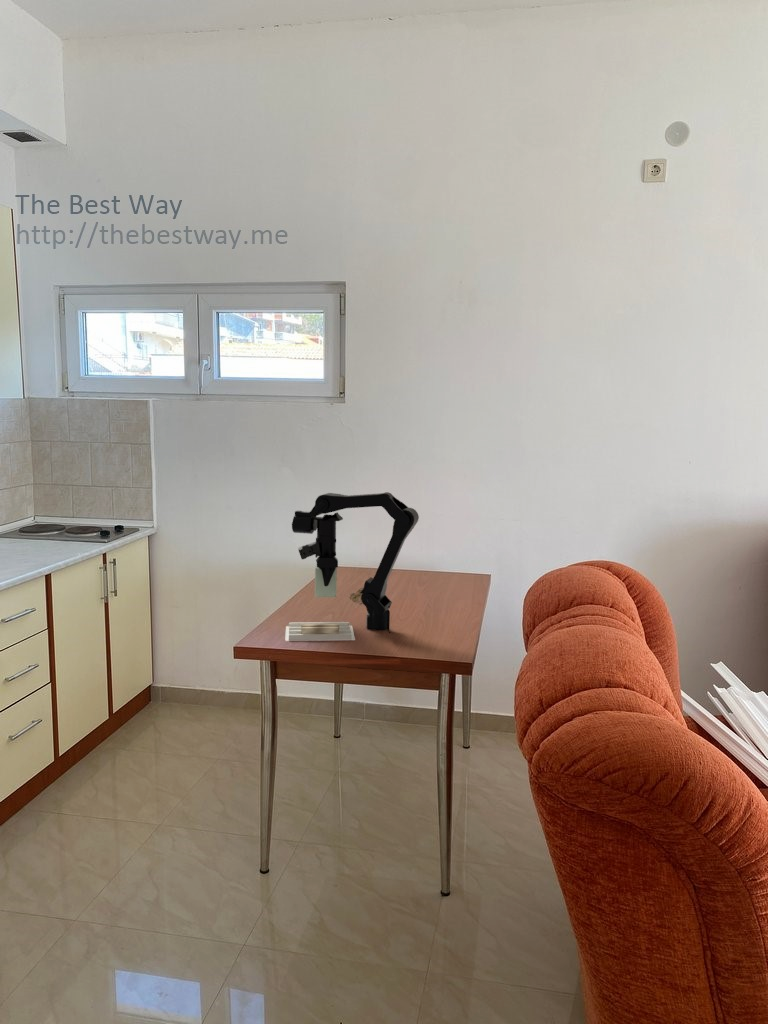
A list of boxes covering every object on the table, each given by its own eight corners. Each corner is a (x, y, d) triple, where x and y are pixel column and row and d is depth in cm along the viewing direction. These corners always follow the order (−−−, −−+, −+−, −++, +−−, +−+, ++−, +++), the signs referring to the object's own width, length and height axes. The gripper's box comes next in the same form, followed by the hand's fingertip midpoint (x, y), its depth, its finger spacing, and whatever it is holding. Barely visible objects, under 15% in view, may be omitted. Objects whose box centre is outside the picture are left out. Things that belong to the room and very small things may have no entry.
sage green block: (335, 594, 243) (336, 566, 242) (336, 597, 240) (336, 568, 239) (314, 594, 242) (315, 566, 241) (315, 597, 239) (315, 568, 238)
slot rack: (351, 628, 240) (351, 620, 239) (355, 643, 225) (355, 635, 225) (286, 629, 238) (286, 621, 237) (285, 644, 223) (285, 635, 223)
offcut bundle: (338, 635, 229) (339, 624, 228) (339, 638, 226) (339, 626, 226) (300, 636, 228) (301, 624, 227) (301, 639, 225) (301, 627, 224)
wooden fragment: (362, 587, 296) (362, 584, 296) (390, 589, 294) (390, 587, 293) (340, 603, 272) (340, 600, 272) (370, 606, 269) (370, 603, 269)
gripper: (299, 529, 247) (299, 578, 249) (300, 539, 228) (299, 592, 231) (335, 529, 248) (334, 578, 250) (338, 539, 230) (337, 591, 232)
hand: (325, 584), depth 241 cm, fingers closed on sage green block, 3 cm apart
